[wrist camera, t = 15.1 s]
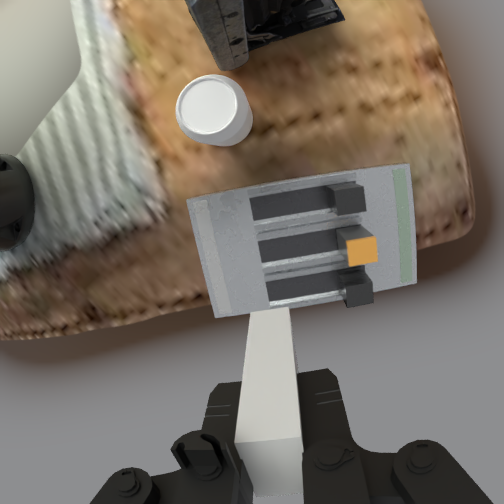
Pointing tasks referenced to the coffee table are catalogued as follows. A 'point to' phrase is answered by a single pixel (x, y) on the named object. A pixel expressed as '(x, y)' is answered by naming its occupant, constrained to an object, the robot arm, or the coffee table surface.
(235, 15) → the vintage camera
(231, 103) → the beverage can
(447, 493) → the robot arm
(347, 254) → the breaker
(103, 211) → the coffee table surface
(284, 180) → the breaker panel
